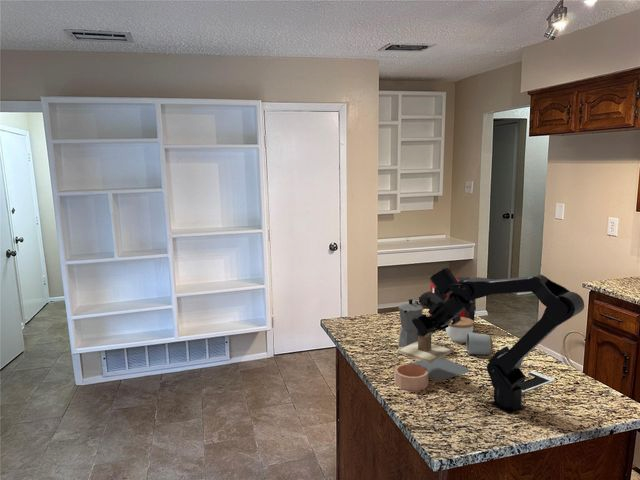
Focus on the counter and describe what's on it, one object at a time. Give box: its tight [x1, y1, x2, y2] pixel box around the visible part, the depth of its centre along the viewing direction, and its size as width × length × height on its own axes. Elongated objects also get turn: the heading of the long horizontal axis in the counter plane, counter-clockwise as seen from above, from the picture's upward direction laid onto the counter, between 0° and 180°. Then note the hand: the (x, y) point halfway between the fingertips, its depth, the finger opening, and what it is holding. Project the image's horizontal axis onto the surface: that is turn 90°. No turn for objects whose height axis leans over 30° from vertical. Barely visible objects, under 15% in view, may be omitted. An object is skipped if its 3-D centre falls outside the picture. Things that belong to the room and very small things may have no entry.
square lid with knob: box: [397, 334, 452, 363], centre depth 143 cm, size 12×12×10 cm
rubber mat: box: [409, 356, 472, 382], centre depth 149 cm, size 15×15×1 cm
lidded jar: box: [445, 316, 475, 344], centre depth 175 cm, size 11×11×9 cm
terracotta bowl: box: [393, 363, 429, 392], centre depth 138 cm, size 10×10×4 cm
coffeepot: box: [398, 298, 424, 348], centre depth 170 cm, size 15×9×18 cm, turn 150°
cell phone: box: [519, 370, 556, 394], centre depth 139 cm, size 8×16×1 cm, turn 119°
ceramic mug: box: [465, 332, 493, 356], centre depth 162 cm, size 11×8×8 cm
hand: (421, 333), depth 144 cm, fingers closed on square lid with knob, 3 cm apart
